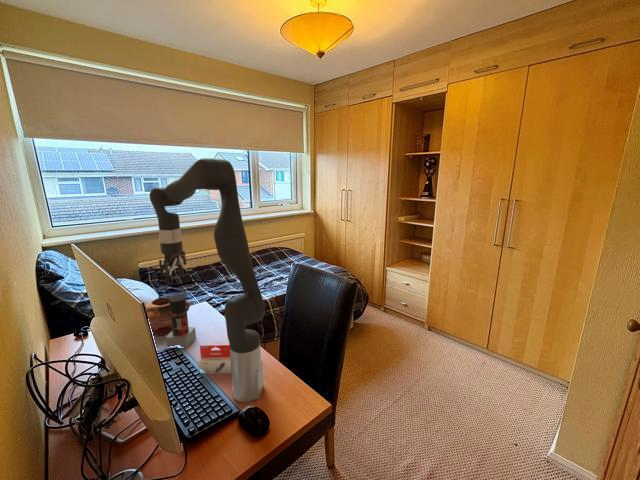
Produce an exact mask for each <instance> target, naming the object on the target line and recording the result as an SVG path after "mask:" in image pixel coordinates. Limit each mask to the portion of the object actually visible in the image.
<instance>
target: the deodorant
mask: <svg viewBox="0 0 640 480" xmlns="http://www.w3.org/2000/svg"><path fill="white" fill-rule="evenodd" d="M186 298H187V297H186V296H185V295H182V294H180V295H173V296H171V298H170V299H169V305H170V314H171V322H172V331H173V335H174V336H182V335H185V334H187V333H188V332H189V328H188V327H189V320H188V311H187V306H186V301H187V299H186Z"/></svg>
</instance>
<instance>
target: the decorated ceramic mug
mask: <svg viewBox="0 0 640 480" xmlns="http://www.w3.org/2000/svg"><path fill="white" fill-rule="evenodd" d="M171 297H172V296H171ZM171 297H170V296H169V297H168V296H166V297H164V296H163V297H162V296H161V297H158V298H156V299H155V298H154V299H153V300H151V301H149V302H148V303H146V304H145V305H146V309H147V314H148V318H149V322H150V326H151V329H152V332H153V334H152V335H154V336H156V335H160V336H165V335H168V334H169V333H170V332H171V331H172V322H171V314H170V305H169V299H170V298H171ZM186 307H187V312H188V311H189V309H190V307H191V306H190V303H189V302H188V301H187V300H186ZM150 326H149V327H150Z"/></svg>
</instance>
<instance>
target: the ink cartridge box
mask: <svg viewBox="0 0 640 480" xmlns="http://www.w3.org/2000/svg"><path fill="white" fill-rule="evenodd" d="M214 348H218V349H219V350H217V349H215V350H213V349H214ZM199 352H200V357H199V360H198V369H199V368H200V369H202V370H203V371H205V372H206V373H205V374H231V360H230V344H226V345H225V344H219V345H218V344H217V345H216V344H215V345H199Z"/></svg>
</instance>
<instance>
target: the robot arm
mask: <svg viewBox="0 0 640 480" xmlns="http://www.w3.org/2000/svg"><path fill="white" fill-rule="evenodd" d="M197 190H207V191H219V194H220V195H219V196H220V200H221V207H220V208H221V209H220V212H219V216H218V218H217V221H216V223H215V227H214V232H213V239H214V243H215V247H216V251H217V256H218V257H219V259H220V261H222V263H223V264H224V265H225V266H226V268H228V269H229V270H230V271H231V272H232V273H233V274H234V275H235V276H236V278H237V279H238V281H239V282H240V285H241V288H242V291H243V294H241V295H239V296H236V297H232V298H230V299H228V300H227V301H226V303H224V304H225V306H224V320H225V325H226V335H227V340H228V343H229V344H228V345H230V360H231V373H230V374H231V389H232V398H233V399H234V400H235V401H237V402H240V403H248V402H252V401H254V400H259V399H260V398H261V395H262V391H263V388H264V361H263V360H262V359H261V358H262V356H261V355H262V354H261V336H260V333H259V332H258V331H256V330H254V329H250V328H246V327H248V326H250V325H253V324H255V323H257V322H259V321H261V320H263V319H264V317H265V313H266V308H265V307H266V306H265V302H264V299H263V295H262V293H261V289H260V286H259V283H258V280H257V276H256V274H255V270H254V267H253V262H252V258H251V253H250V247H249V243H248V239H247V238H248V237H247V235H246V234H247V233H246V231H245V227H244V223H243V222H244V221H243V217H242V213H241V207H240V202H239V195H238V194H239V193H238V186H237V178H236V172H235V170H234V167H233V165H232V163H231V162H230V161H229V160H227V159H222V158H210V157H202V158H199V159H197V160H196V161H194V162H193V163H192V164H191V165H190V167H189V168H188V169H187V170H186V171H185V172H184V173H183V174H182V175H181V176H180V177H179V178H177V179H174V180H173V181H172V182H169V183H168V184H167V185H166V186H163V187H162V186H161V187H160V186H159V187H153V188H152V189H151V190H150V191H149V199H150V203H151V205H152V207H153V209H154V211H155V214H156V218H157V221H158V230H159V231H158V238H159V244H160V245H159V247H160V252H161V254H162V255H164V258H163V259H159V260H158V264H159V265H158V266H159V275H160V276H164V283H165V285H167V286H171V285H173V276H172V273H173V270H175V267H176V271H177V277H178V278H183V277H184V275H185V274H184V267H185V265H187V258H186V252H185V250H184V248H183V247H184V246H183V238H182V231H181V224H180V216H179V214H178V213H176V212H172V211H171V212H170V211H167V209H166V207H175V206H180V205H181V204H182V203H183V202H184V201H185V200H187V199H189V198H191V197H193V196H194V195H195V193H196V191H197Z"/></svg>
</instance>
